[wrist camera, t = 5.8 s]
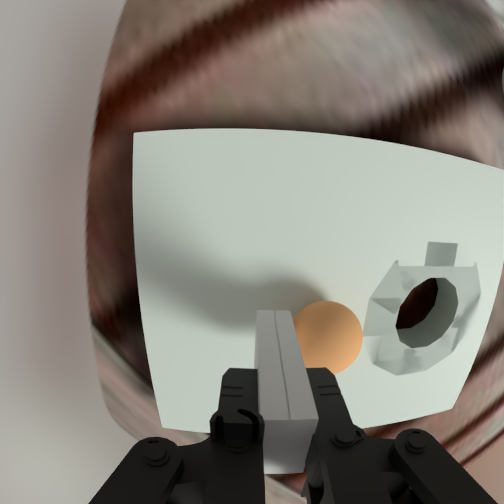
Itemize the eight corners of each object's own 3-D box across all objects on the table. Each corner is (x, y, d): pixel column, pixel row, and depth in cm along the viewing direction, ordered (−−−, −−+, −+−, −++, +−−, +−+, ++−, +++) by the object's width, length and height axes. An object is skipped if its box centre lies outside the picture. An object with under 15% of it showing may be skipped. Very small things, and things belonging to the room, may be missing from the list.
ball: (359, 330, 10) (377, 301, 13) (277, 306, 12) (311, 283, 15) (339, 400, 11) (361, 362, 14) (269, 374, 13) (301, 343, 16)
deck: (170, 404, 19) (162, 427, 17) (150, 138, 15) (133, 132, 12) (439, 391, 19) (451, 408, 17) (489, 171, 15) (513, 173, 12)
